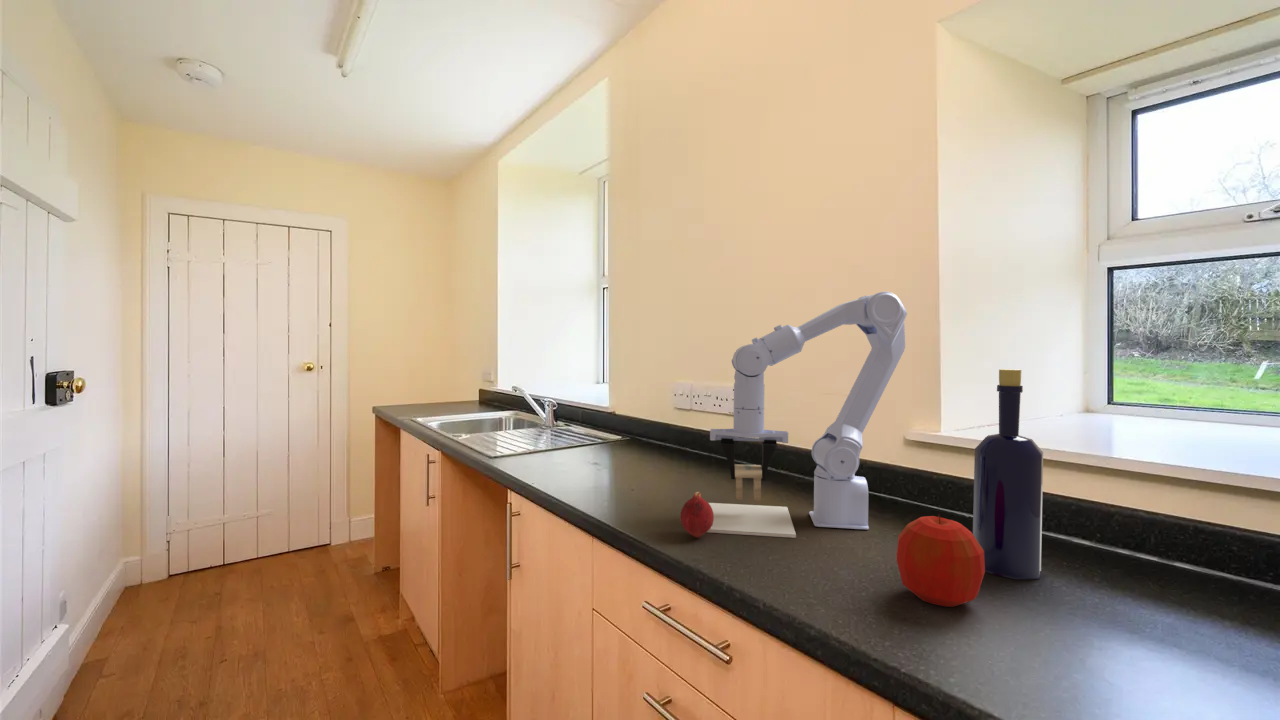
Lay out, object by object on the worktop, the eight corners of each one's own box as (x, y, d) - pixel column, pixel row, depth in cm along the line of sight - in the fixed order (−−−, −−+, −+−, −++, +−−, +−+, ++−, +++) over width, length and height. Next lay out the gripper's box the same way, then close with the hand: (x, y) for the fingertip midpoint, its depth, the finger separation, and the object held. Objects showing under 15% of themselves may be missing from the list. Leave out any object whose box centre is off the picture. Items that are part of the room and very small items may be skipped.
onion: (712, 545, 90) (712, 498, 90) (678, 542, 91) (678, 496, 91) (714, 533, 95) (714, 488, 95) (682, 530, 97) (682, 487, 96)
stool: (762, 500, 100) (762, 470, 100) (734, 499, 101) (734, 469, 100) (760, 493, 105) (760, 464, 105) (734, 492, 105) (734, 463, 105)
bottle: (1030, 559, 84) (1035, 368, 83) (1054, 584, 75) (1059, 371, 74) (963, 552, 87) (967, 367, 86) (979, 575, 78) (983, 370, 77)
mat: (787, 509, 109) (787, 506, 109) (795, 537, 93) (795, 534, 93) (708, 505, 112) (708, 502, 112) (703, 532, 96) (703, 528, 96)
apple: (898, 610, 68) (900, 520, 68) (892, 578, 77) (894, 499, 77) (992, 626, 64) (994, 531, 64) (974, 590, 74) (975, 507, 73)
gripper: (786, 406, 104) (785, 475, 105) (711, 404, 107) (710, 471, 107) (789, 410, 98) (788, 484, 98) (709, 408, 100) (709, 480, 100)
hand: (748, 478), depth 102 cm, fingers closed on stool, 5 cm apart
